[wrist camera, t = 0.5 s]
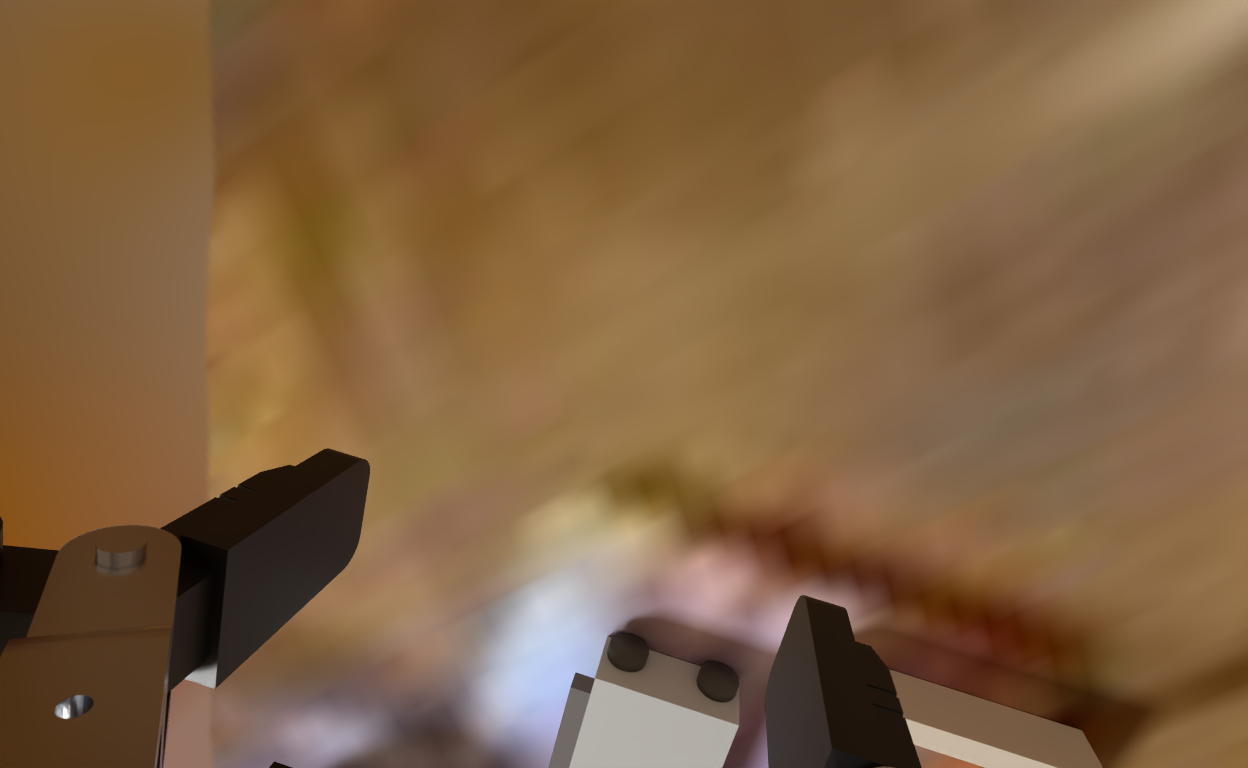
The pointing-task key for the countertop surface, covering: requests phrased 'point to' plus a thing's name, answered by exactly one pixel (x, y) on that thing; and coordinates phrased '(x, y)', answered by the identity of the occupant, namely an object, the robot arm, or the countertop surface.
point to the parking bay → (987, 729)
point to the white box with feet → (648, 712)
